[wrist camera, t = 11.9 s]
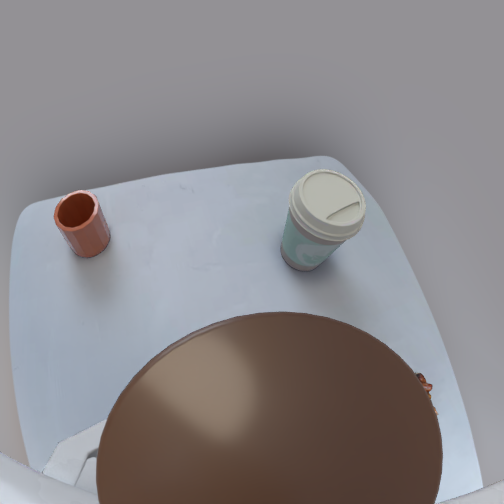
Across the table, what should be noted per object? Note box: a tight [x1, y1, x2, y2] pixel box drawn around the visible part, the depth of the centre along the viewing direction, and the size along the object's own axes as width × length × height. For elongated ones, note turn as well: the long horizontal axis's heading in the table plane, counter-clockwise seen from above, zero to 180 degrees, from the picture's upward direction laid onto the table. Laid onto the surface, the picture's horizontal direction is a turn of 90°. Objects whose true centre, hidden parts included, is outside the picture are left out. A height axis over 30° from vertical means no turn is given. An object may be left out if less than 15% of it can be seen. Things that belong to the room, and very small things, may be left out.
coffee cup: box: [281, 169, 366, 271], centre depth 37 cm, size 9×8×12 cm
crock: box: [54, 190, 110, 257], centre depth 36 cm, size 6×6×6 cm
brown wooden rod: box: [96, 312, 443, 504], centre depth 9 cm, size 3×3×18 cm
